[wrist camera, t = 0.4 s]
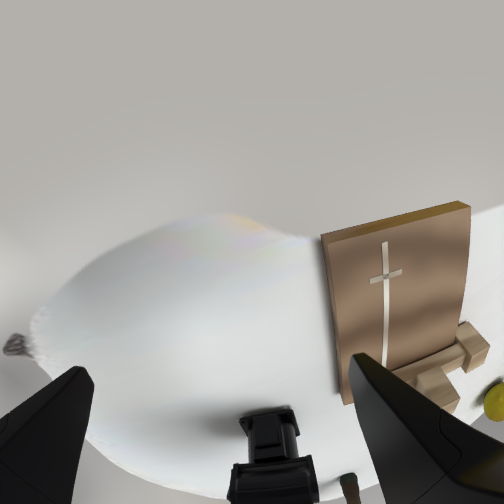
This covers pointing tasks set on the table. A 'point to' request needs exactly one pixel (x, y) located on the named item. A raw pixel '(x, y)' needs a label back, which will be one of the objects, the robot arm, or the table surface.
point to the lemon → (495, 403)
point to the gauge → (446, 367)
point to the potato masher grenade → (350, 488)
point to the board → (397, 286)
